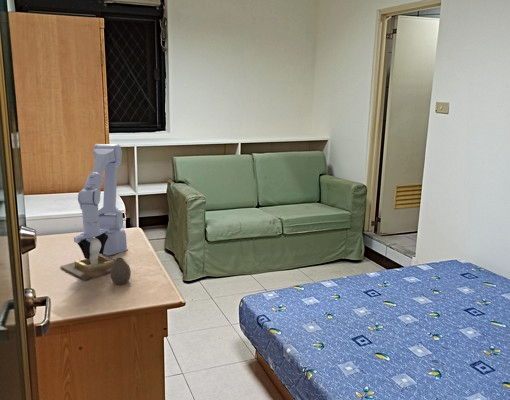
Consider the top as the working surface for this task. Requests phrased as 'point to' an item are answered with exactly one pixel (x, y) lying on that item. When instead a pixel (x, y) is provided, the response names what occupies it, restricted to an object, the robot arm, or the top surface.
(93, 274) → the lamp base
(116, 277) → the vase
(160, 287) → the top surface
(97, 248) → the white light bulb
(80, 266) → the socket collar
